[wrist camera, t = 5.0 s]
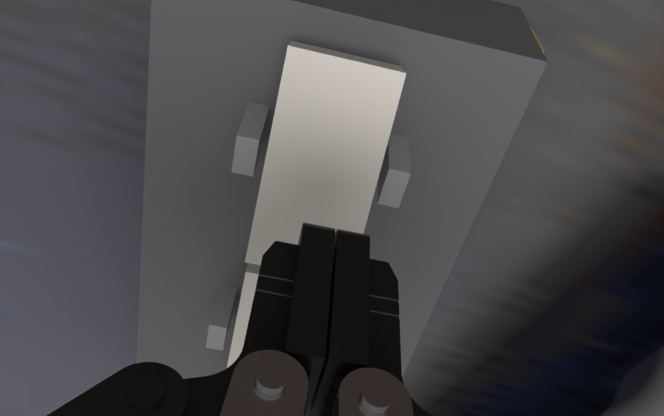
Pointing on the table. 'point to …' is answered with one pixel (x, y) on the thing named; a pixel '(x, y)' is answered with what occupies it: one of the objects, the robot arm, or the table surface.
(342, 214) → the plate
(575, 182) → the table surface
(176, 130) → the switch unit
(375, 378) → the robot arm
